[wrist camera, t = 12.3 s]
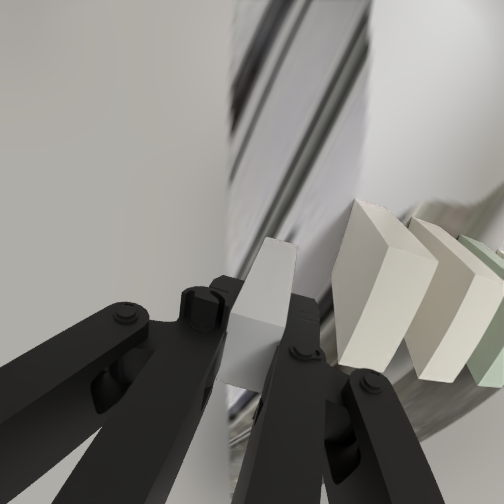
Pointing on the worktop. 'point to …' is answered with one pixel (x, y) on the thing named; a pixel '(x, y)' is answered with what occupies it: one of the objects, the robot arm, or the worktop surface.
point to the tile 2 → (450, 306)
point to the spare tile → (497, 333)
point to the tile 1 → (377, 286)
